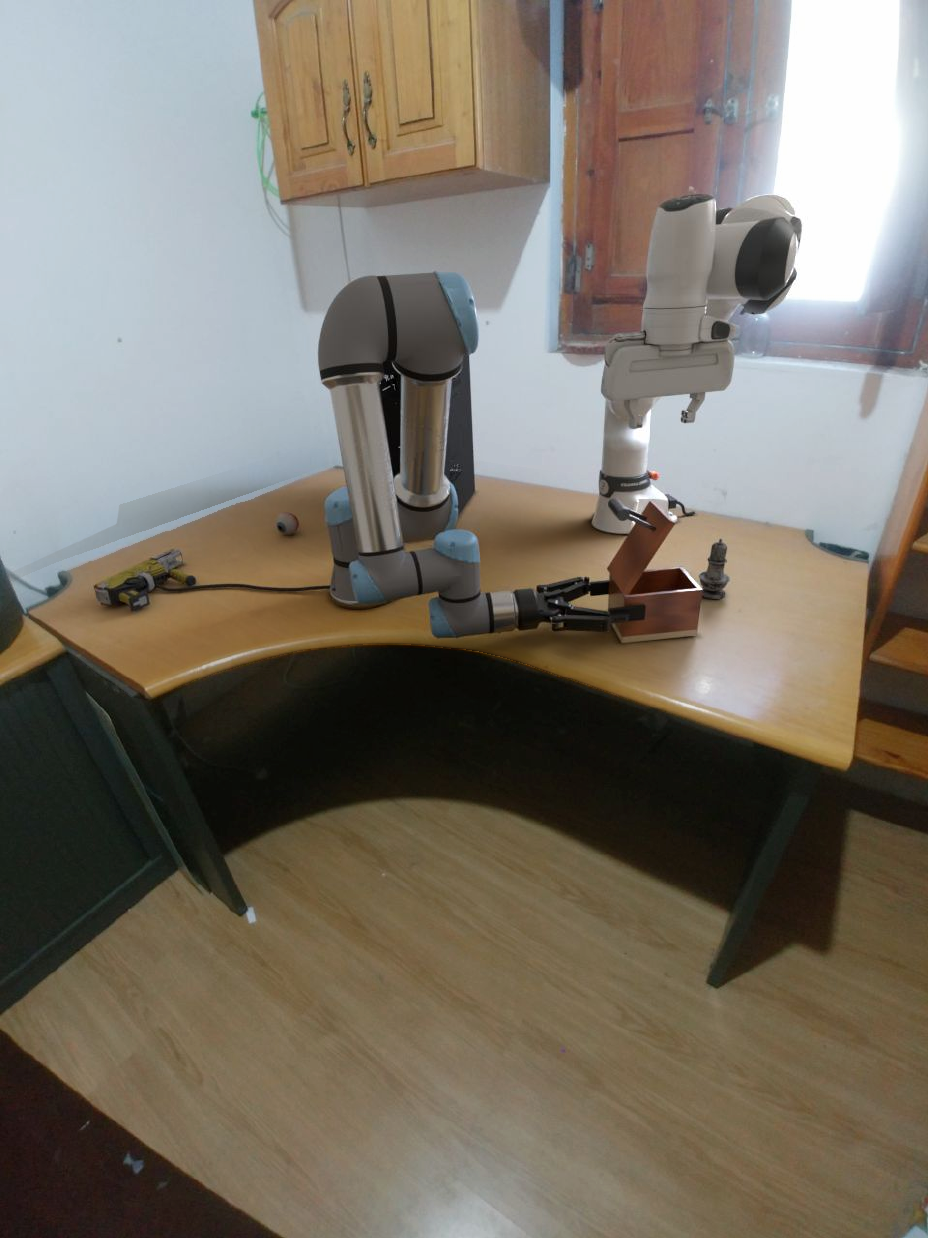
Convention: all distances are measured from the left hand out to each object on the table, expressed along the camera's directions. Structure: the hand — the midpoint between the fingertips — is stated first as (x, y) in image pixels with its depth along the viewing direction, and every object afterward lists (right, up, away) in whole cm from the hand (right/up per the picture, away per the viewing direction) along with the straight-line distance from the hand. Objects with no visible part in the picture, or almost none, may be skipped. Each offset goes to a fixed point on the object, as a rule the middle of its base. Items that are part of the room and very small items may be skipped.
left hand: (633, 598), depth 111 cm
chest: (+4, -5, +3) cm, 7 cm away
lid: (0, +9, -5) cm, 10 cm away
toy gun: (-101, +3, +29) cm, 105 cm away
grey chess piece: (+20, +1, +13) cm, 24 cm away
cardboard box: (-42, +27, +64) cm, 82 cm away
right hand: (0, +27, -15) cm, 31 cm away
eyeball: (-79, +19, +54) cm, 98 cm away
